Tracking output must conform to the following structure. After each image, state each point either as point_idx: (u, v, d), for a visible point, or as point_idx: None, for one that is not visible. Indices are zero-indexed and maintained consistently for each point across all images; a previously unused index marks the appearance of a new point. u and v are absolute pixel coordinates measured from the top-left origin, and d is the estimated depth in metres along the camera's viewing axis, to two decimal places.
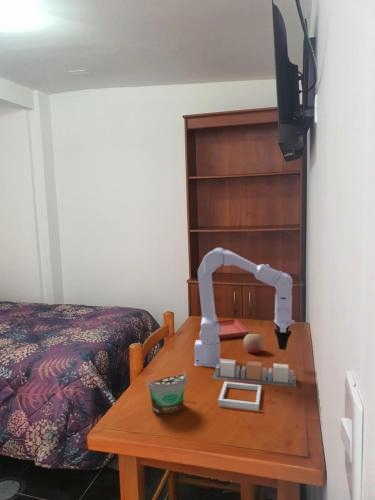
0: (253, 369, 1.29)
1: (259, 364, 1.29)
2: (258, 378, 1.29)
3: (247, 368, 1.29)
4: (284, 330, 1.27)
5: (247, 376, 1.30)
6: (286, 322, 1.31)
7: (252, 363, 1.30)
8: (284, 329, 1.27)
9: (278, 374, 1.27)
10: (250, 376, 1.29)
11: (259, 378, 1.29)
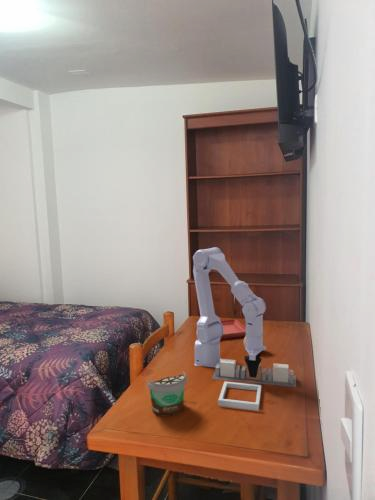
0: None
1: (259, 364, 1.29)
2: (258, 378, 1.29)
3: (247, 368, 1.29)
4: (253, 358, 1.22)
5: (247, 376, 1.30)
6: (256, 349, 1.26)
7: None
8: (253, 357, 1.22)
9: (278, 374, 1.27)
10: None
11: (259, 378, 1.29)
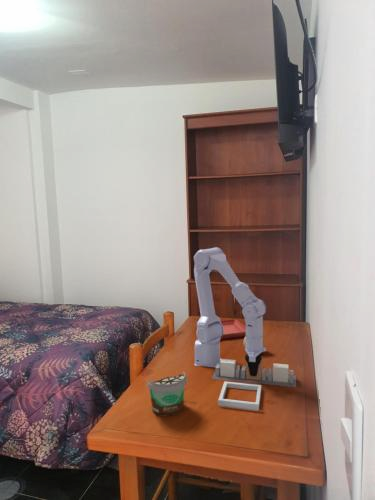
0: None
1: (259, 364, 1.29)
2: (258, 378, 1.29)
3: (247, 368, 1.29)
4: (253, 360, 1.22)
5: (247, 376, 1.30)
6: (256, 350, 1.27)
7: None
8: (253, 358, 1.22)
9: (278, 374, 1.27)
10: (250, 376, 1.29)
11: (259, 378, 1.29)
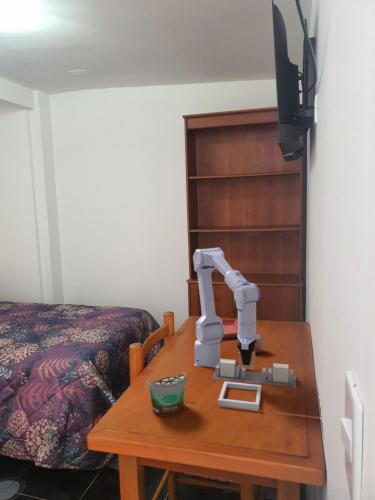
0: None
1: (253, 353, 1.21)
2: (251, 367, 1.21)
3: (240, 357, 1.21)
4: (246, 347, 1.14)
5: (240, 365, 1.21)
6: (249, 337, 1.18)
7: None
8: (246, 346, 1.14)
9: (278, 374, 1.27)
10: (243, 365, 1.21)
11: (252, 367, 1.20)
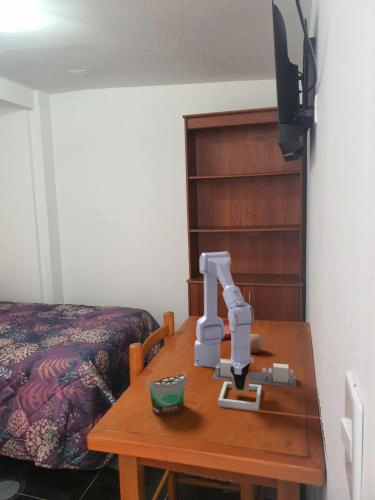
0: None
1: (247, 376, 1.16)
2: (245, 392, 1.16)
3: (233, 381, 1.16)
4: (239, 372, 1.09)
5: (233, 389, 1.17)
6: (243, 361, 1.14)
7: None
8: (239, 371, 1.09)
9: (278, 374, 1.27)
10: (236, 390, 1.16)
11: (246, 392, 1.16)
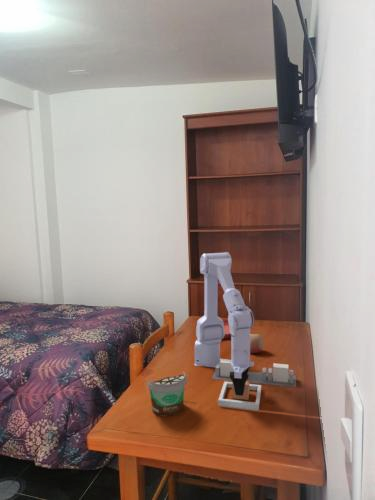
0: None
1: (247, 383, 1.16)
2: (245, 398, 1.16)
3: (233, 387, 1.17)
4: (239, 376, 1.10)
5: (233, 396, 1.17)
6: (243, 365, 1.14)
7: None
8: (239, 375, 1.10)
9: (278, 374, 1.27)
10: (236, 396, 1.17)
11: (246, 398, 1.16)
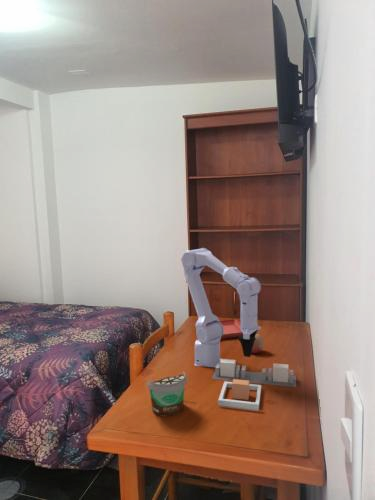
0: (239, 388, 1.16)
1: (247, 383, 1.16)
2: (245, 398, 1.16)
3: (233, 387, 1.17)
4: (247, 337, 1.23)
5: (233, 396, 1.17)
6: (251, 328, 1.27)
7: (239, 381, 1.18)
8: (247, 336, 1.23)
9: (278, 374, 1.27)
10: (236, 396, 1.17)
11: (246, 398, 1.16)
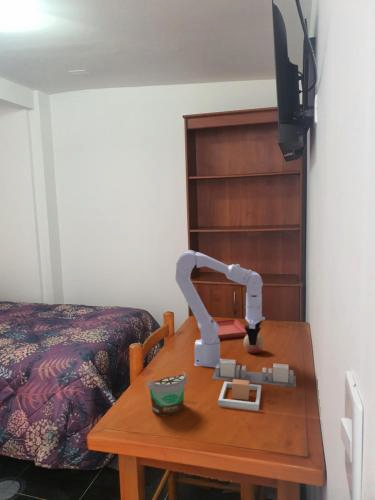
0: (239, 388, 1.16)
1: (247, 383, 1.16)
2: (245, 398, 1.16)
3: (233, 387, 1.17)
4: (253, 326, 1.32)
5: (233, 396, 1.17)
6: (256, 319, 1.36)
7: (239, 381, 1.18)
8: (253, 325, 1.32)
9: (278, 374, 1.27)
10: (236, 396, 1.17)
11: (246, 398, 1.16)
